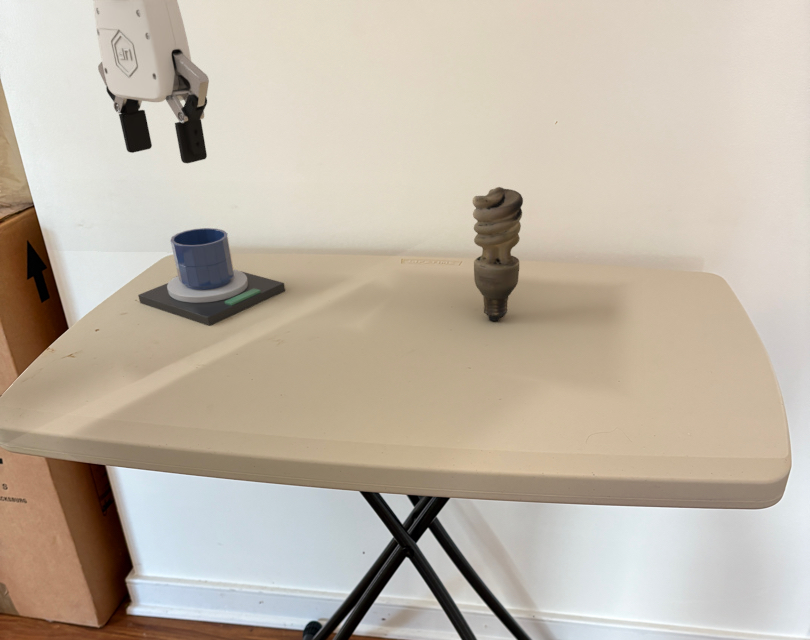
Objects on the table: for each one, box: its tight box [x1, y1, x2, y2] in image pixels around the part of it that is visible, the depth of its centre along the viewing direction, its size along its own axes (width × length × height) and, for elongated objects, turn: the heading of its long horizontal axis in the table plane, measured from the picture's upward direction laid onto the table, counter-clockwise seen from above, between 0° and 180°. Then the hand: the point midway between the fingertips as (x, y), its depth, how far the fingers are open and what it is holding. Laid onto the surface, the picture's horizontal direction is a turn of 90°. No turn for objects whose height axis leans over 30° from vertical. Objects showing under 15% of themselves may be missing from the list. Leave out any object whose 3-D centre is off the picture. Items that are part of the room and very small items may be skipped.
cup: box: [170, 227, 235, 290], centre depth 94 cm, size 7×7×6 cm
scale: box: [137, 268, 286, 327], centre depth 97 cm, size 13×13×3 cm
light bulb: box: [472, 186, 524, 322], centre depth 87 cm, size 6×6×15 cm
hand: (166, 155), depth 87 cm, fingers open, 9 cm apart
